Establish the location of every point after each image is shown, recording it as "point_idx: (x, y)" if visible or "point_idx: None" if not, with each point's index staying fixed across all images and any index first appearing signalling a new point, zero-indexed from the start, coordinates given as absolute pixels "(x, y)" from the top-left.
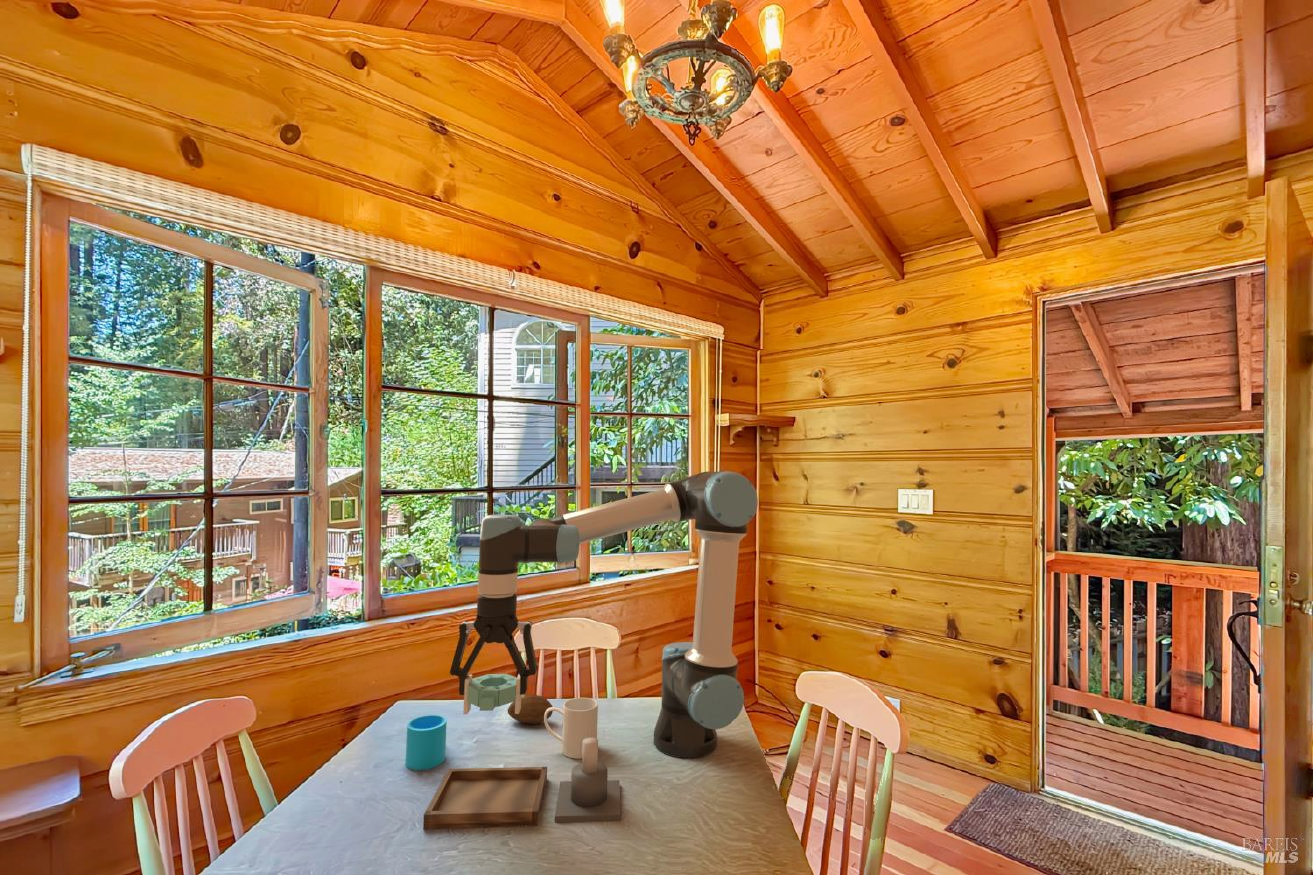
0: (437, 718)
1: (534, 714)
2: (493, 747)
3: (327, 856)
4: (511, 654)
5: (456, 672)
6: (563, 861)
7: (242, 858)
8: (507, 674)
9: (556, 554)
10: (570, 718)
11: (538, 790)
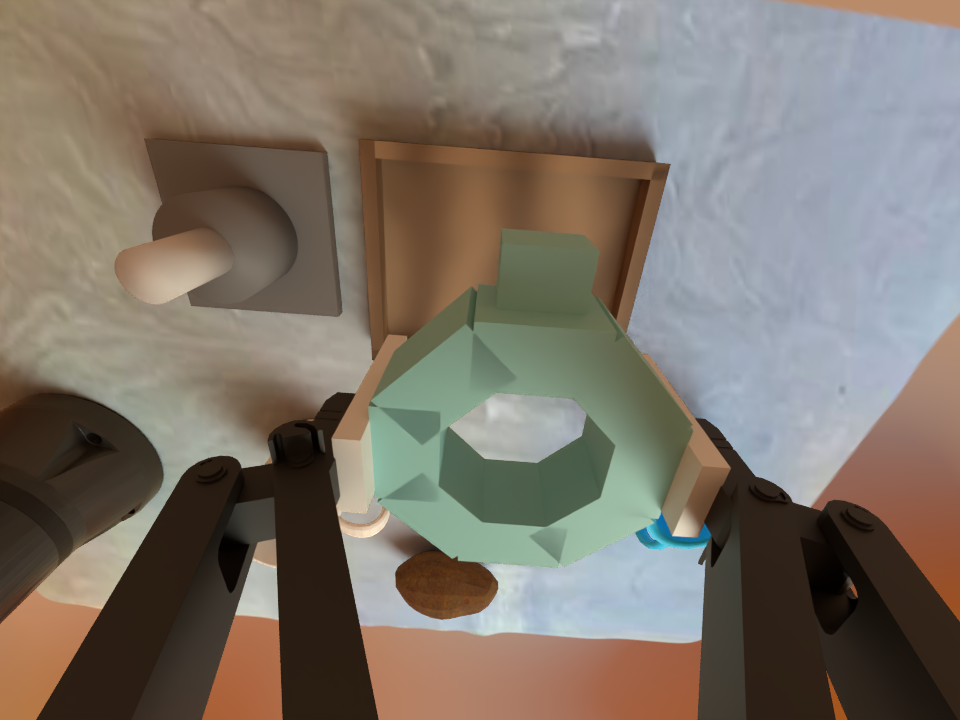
0: (667, 534)
1: (435, 564)
2: None
3: (895, 61)
4: (345, 639)
5: (819, 523)
6: None
7: None
8: (453, 555)
9: None
10: None
11: (375, 250)
